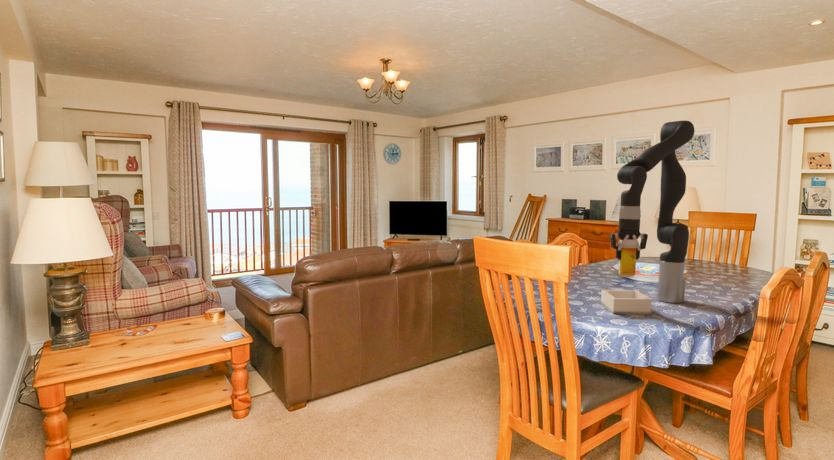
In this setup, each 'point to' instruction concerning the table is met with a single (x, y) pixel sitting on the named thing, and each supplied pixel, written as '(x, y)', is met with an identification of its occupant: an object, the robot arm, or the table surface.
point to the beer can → (628, 258)
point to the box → (625, 302)
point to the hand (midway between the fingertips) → (627, 259)
